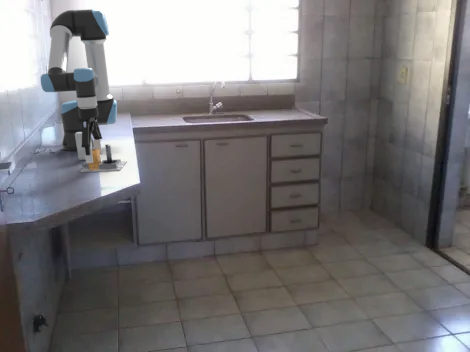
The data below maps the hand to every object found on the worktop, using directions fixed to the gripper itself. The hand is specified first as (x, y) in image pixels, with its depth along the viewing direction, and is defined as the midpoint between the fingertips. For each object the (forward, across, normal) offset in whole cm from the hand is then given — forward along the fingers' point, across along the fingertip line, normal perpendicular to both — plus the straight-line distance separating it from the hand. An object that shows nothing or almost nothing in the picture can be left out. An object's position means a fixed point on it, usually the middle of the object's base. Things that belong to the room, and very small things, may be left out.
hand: (94, 158), depth 203 cm
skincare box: (+4, -17, -9) cm, 19 cm away
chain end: (+3, 0, +2) cm, 4 cm away
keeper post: (+4, 0, +4) cm, 5 cm away
